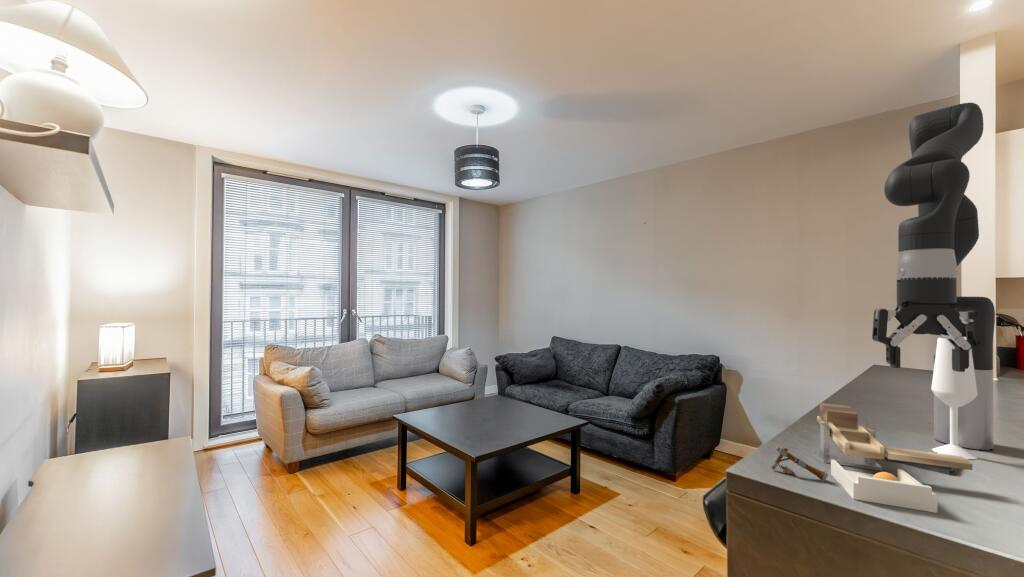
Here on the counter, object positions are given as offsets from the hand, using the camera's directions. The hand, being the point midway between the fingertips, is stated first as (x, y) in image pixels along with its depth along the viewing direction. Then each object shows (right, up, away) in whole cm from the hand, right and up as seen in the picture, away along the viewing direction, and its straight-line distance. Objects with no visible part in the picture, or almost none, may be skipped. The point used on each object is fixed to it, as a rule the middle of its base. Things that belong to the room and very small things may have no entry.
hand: (925, 369), depth 73 cm
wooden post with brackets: (-22, -19, 0) cm, 29 cm away
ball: (-13, -17, -7) cm, 23 cm away
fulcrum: (-7, -20, +9) cm, 22 cm away
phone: (+6, -21, +11) cm, 24 cm away
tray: (-12, -19, -4) cm, 23 cm away
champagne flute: (+20, -21, +15) cm, 32 cm away
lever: (-1, -15, +6) cm, 17 cm away
